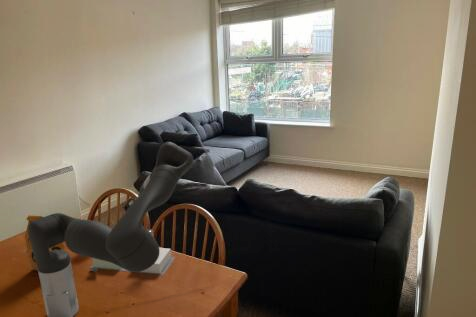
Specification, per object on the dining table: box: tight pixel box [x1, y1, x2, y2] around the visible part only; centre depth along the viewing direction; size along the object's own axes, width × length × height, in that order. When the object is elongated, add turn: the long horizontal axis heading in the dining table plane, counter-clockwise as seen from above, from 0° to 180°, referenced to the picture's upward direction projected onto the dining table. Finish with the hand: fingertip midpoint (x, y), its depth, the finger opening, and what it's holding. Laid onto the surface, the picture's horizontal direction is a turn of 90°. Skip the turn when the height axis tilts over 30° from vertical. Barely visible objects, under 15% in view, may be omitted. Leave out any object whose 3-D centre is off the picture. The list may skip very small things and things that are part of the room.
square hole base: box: [89, 247, 176, 276], centre depth 142 cm, size 30×12×6 cm, turn 78°
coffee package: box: [24, 214, 66, 272], centre depth 140 cm, size 10×12×22 cm
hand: (138, 210), depth 129 cm, fingers open, 8 cm apart
